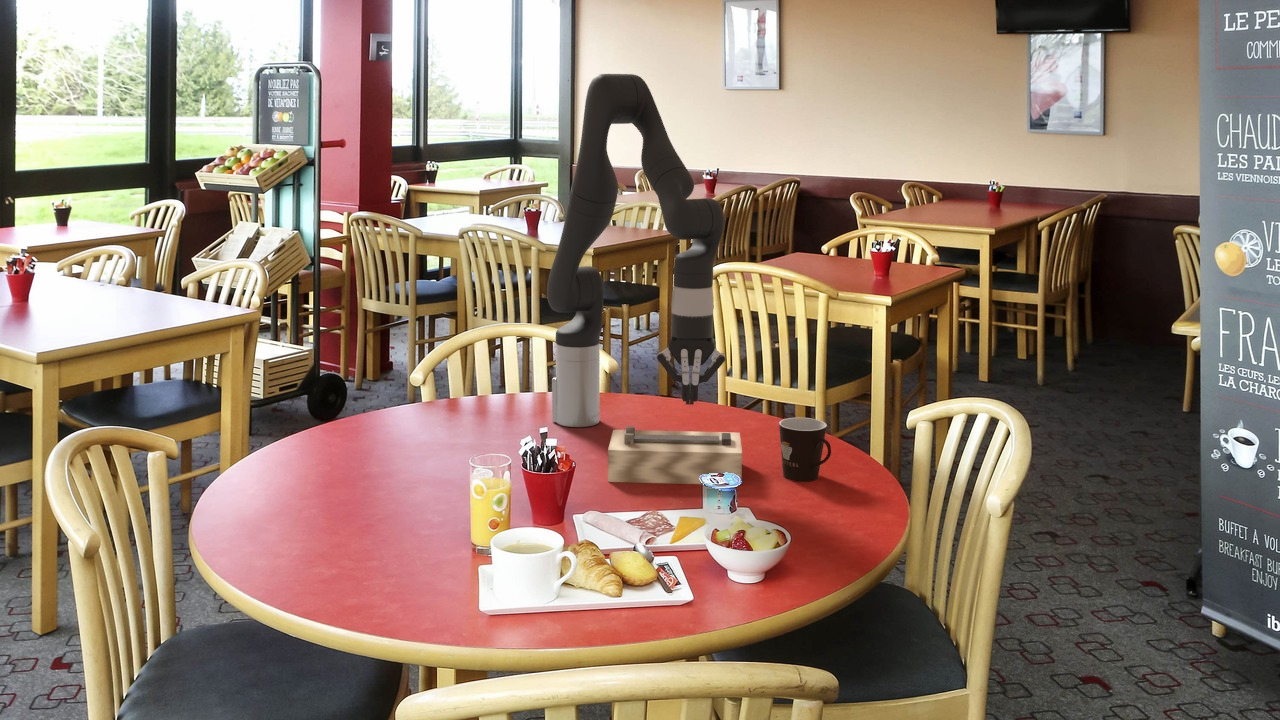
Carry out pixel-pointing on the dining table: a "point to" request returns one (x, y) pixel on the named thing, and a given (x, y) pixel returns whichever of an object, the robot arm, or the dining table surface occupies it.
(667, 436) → the strap
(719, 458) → the tea crate
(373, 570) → the dining table surface
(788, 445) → the coffee mug
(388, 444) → the dining table surface
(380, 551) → the dining table surface
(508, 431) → the dining table surface
